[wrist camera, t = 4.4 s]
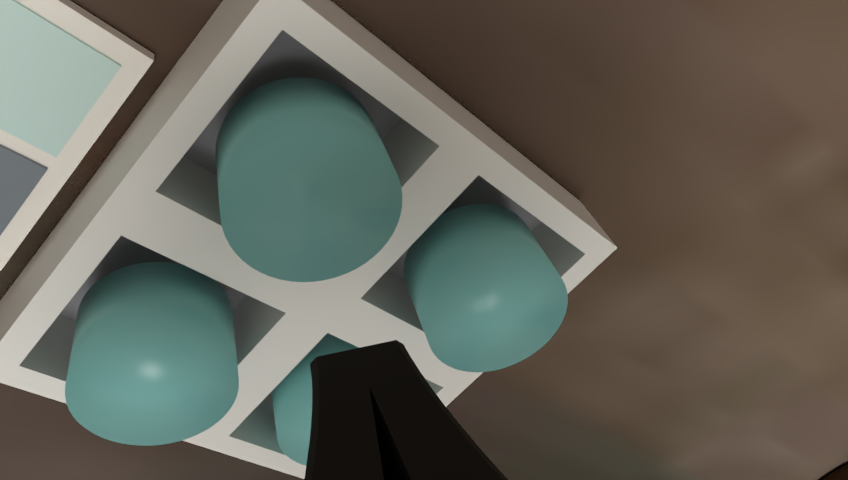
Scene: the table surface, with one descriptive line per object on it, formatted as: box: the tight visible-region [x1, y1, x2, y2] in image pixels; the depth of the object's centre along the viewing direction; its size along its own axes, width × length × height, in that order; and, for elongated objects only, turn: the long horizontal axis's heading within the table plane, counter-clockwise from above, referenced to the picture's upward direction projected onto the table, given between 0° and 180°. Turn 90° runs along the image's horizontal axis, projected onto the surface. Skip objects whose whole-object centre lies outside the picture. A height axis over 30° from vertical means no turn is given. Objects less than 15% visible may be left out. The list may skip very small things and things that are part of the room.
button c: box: [403, 204, 568, 372], centre depth 19 cm, size 4×4×2 cm
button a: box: [271, 333, 359, 466], centre depth 22 cm, size 4×4×2 cm
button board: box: [0, 0, 617, 479], centre depth 20 cm, size 12×12×2 cm
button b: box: [65, 262, 239, 446], centre depth 18 cm, size 4×4×2 cm
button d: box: [216, 77, 402, 282], centre depth 16 cm, size 4×4×2 cm
